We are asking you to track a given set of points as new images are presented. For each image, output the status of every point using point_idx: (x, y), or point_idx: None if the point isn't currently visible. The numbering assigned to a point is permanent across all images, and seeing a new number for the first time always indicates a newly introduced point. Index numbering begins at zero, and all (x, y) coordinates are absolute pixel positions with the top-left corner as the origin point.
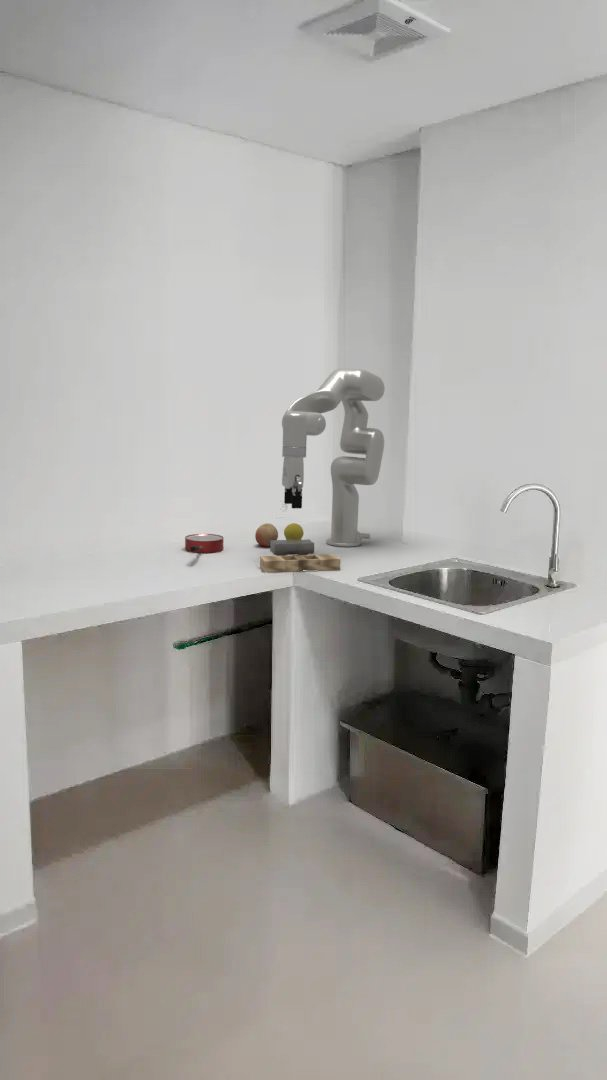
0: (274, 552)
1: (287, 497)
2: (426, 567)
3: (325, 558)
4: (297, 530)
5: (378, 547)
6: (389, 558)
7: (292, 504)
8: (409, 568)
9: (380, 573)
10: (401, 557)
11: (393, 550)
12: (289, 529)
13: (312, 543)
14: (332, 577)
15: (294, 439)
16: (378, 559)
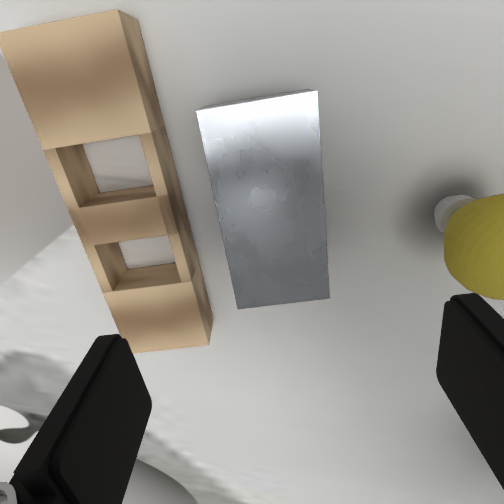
0: (208, 106)
1: (486, 373)
2: (202, 496)
3: (128, 311)
4: (464, 270)
5: (456, 456)
6: (305, 455)
7: (84, 366)
8: (187, 470)
9: None
10: (316, 477)
11: (406, 477)
12: (490, 231)
13: (236, 301)
14: (31, 294)
15: None
16: (294, 433)
